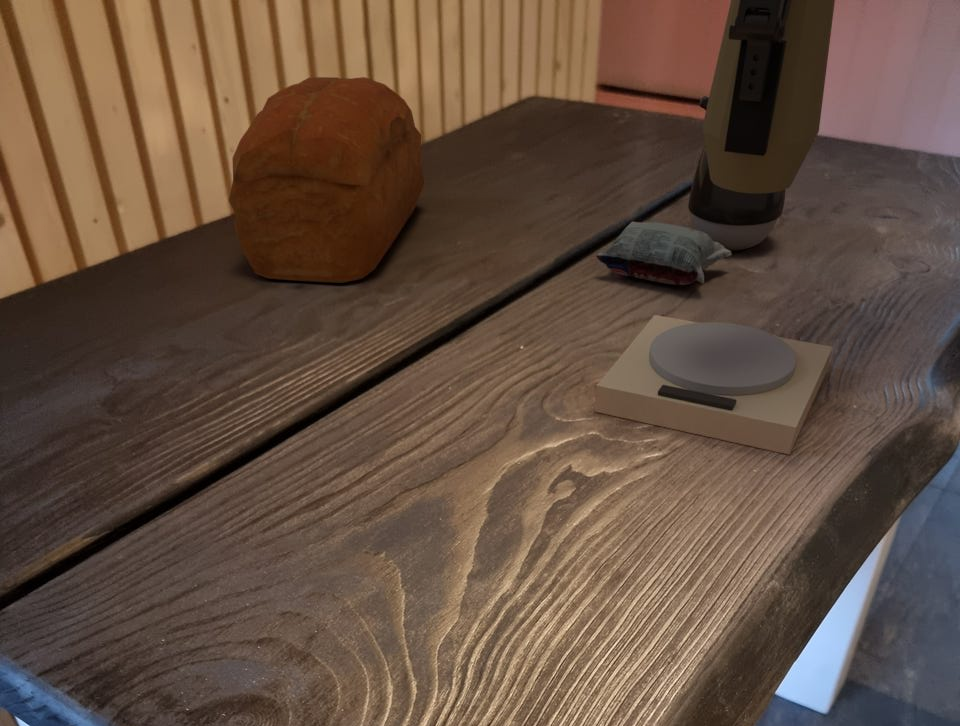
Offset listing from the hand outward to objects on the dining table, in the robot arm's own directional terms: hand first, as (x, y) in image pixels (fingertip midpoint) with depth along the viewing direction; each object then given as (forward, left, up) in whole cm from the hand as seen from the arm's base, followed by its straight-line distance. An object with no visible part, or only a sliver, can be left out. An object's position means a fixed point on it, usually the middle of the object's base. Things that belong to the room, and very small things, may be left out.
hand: (760, 135), depth 66 cm
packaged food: (+12, -22, -20) cm, 32 cm away
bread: (+49, -17, -20) cm, 56 cm away
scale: (0, +1, -20) cm, 20 cm away
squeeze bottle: (0, 0, -3) cm, 3 cm away
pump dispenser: (+8, -34, -20) cm, 40 cm away
